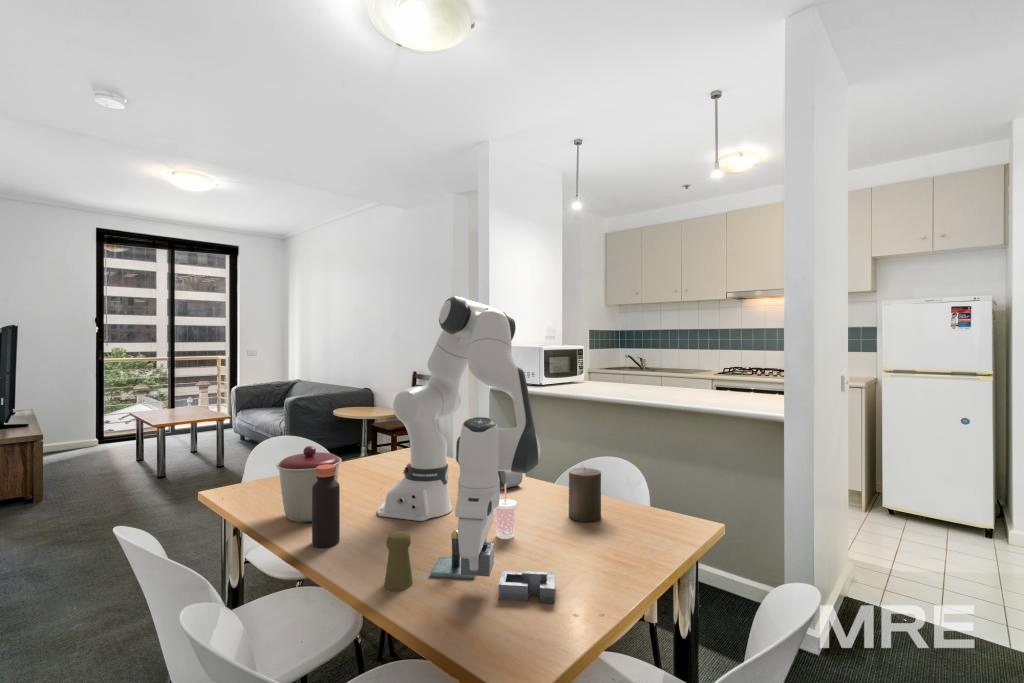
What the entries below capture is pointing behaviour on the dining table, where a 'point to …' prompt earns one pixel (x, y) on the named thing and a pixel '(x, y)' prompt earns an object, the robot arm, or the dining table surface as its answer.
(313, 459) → the canister
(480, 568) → the end link
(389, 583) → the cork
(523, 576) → the chain tail
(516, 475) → the ceramic mug
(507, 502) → the beverage cup
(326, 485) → the bottle
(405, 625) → the dining table surface
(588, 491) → the pillar candle
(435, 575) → the grey plate with post
